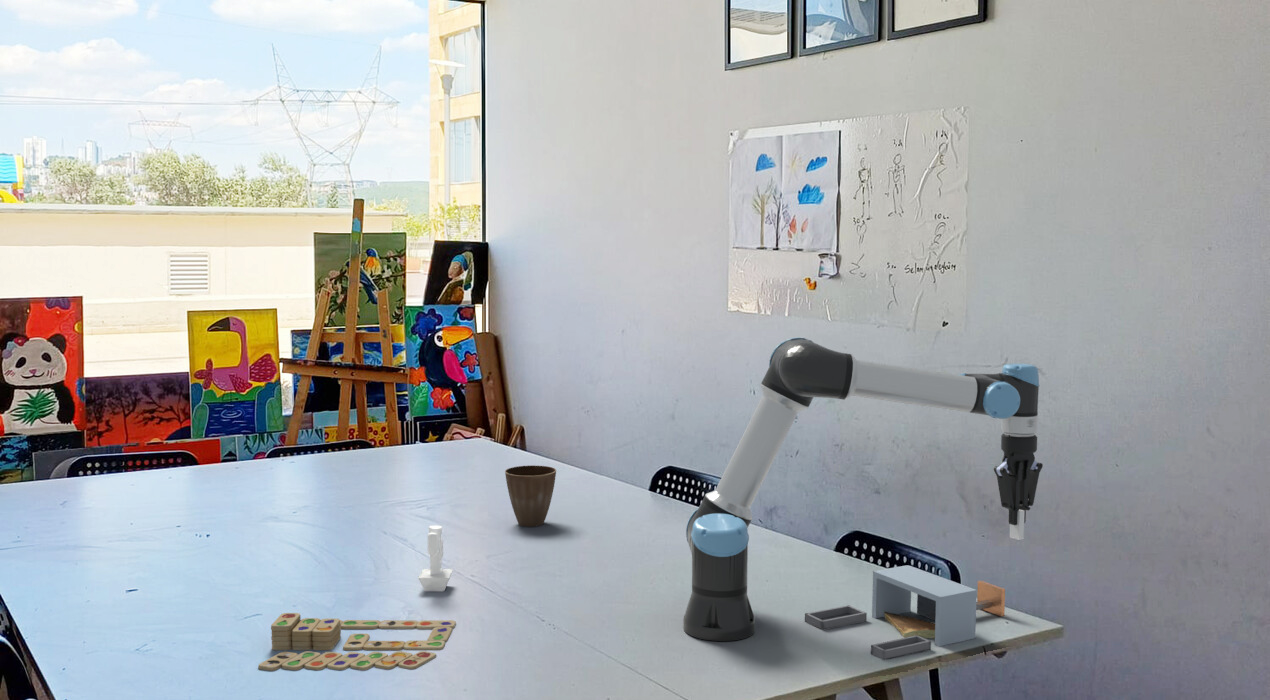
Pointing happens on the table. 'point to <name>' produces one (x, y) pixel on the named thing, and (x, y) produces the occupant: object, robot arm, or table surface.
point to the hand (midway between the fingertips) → (1016, 538)
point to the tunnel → (950, 598)
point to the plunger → (987, 600)
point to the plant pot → (530, 493)
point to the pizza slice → (911, 625)
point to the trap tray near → (900, 647)
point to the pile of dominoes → (350, 643)
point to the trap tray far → (835, 617)
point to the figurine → (435, 563)
